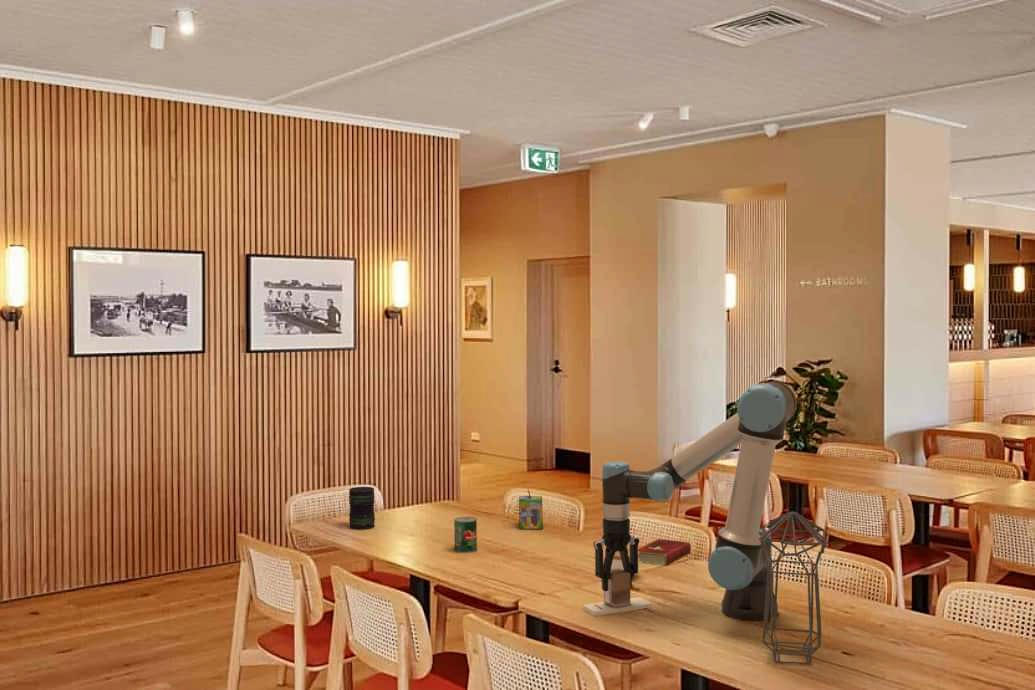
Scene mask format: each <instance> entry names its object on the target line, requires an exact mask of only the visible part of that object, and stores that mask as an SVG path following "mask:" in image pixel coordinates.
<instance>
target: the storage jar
mask: <svg viewBox="0 0 1035 690" xmlns="http://www.w3.org/2000/svg"><path fill="white" fill-rule="evenodd" d="M348 492H349V493H348V499H349V500H348V503H349V514H348V516H349V518H348V520H349V529H351V530H355V531H363V530H365V531H366V530H371V529H374V528H375V525H376V524H375V521H376V517H375V514H376V513H375V488H374V487H373V486H355V487H351V488H349V489H348Z"/></svg>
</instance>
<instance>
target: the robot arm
mask: <svg viewBox="0 0 1035 690" xmlns="http://www.w3.org/2000/svg"><path fill="white" fill-rule="evenodd" d="M736 409H737V410H736V411H737V412H736V413H735V414H734V415H732V416H730V417H729V418H728V419H726V420H725V421H723V422H722V423H720V424H718V425H717V426H716V427H715V428H713V429H712V430H710V431H709V432H707V433H706V434H705V435H703V436H701V437H700V438H699V439H697V440H696V441H695V442H693V443H692V444H690V445H689V446H687V447H686V448H685V449H683V450H682V451H680V452H678V453H677V454H676V455H674V456H673V457H672V458H670V459H668V460H667V461H665V462H664V463H663V464H661V465H660V466H658V467H655V468H653V469H650V470H647V471H646V470H645V471H643V470H641V471H640V470H633V469H631V467H630V464H629V462H626V461H617V460H616V461H607V462H605V463H604V464H603V465H602V473H601V474H602V476H601V483H602V484H601V485H602V487H601V488H602V490H601V491H602V517H603V519H602V532H603V536H602V537H601V539H600V540H599V541H593V542H592V543H593V547H594V551H595V552H594V553H595V556H594V557H595V558H594V561H595V563H594V565H595V567H594V568H595V569H594V575H595V577H596V578H599V579H601V589H602V592H603V595H604V594H605V602H607V603H609V604H610V603H612V583H611V579H609V575H610V571H611V566H612V561H613V557H614V555H615V552H617V551H619V553H620V556H621V560H622V564H623V568H624V571H626V572H628V573H630V589H631V588H632V586H633V578H634V577H635V575H636V574H638V573H639V568H638V548H639V543H640V539H639V538H638V537H635V536H631V534H630V530H631V520H630V516H631V509H630V508H631V506H630V505H631V503H630V500H631V499H640V500H641V499H642V500H651V501H668V500H670V498H671V497H672V495H673V491H675V490H677V489H678V488H680V486H681V485H682V484H684V483H685V482H687V481H688V480H690V479H691V478H692V477H694V476H695V475H698V474H699V473H700V472H701V471H702V470H705V469H706V468H708V467H709V466H710V465H712V464H713V463H715V462H716V461H718V460H719V459H721V458H722V457H724V456H725V455H727V454H729V453H730V452H731V451H733V450H734V449H736V448H737V447H739V446H740V448H739V452H738V453H739V454H738V458H737V464H736V468H735V475H734V479H733V484H732V489H731V494H730V495H731V496H730V499H729V506H728V510H727V517H726V521H725V526H723V527H722V528H720V529H719V530H718V532H717V537H716V541H715V542H716V543H715V548H714V550H713V551H712V552H711V554H710V556H709V557H708V560H707V561H708V562H707V569H708V573H709V575H710V577H711V579H712V580H713V581H714V582H715V583H716V584H717V585H718V586H719V587H720V588H723V589H725V591H724V594H723V595H724V596H723V598H722V601H721V612H722V613H723V614H724V615H726V616H728V617H730V618H731V617H732V618H734V619H741V620H748V621H749V620H750V621H762V620H763V621H764V611H765V598H766V585H767V572H768V571H767V567H766V562H765V558H764V553H763V549H762V547H761V542H760V540H759V538H760V536H762V535H761V534H762V533H763V531H762V528H760V527H761V523H762V517H763V512H764V508H765V507H764V506H765V501H766V497H767V493H768V492H767V490H768V486H769V481H770V476H771V470H772V465H773V459H774V455H775V450H776V446H777V445H778V444H780V443H781V442H782V441H784V438H785V437H784V436H785V432H786V431H785V430H786V425H787V422H789V421H790V420H791V419H792V418H793V417H794V415H795V412H796V411H797V397H796V394H795V392H794V391H793V390H792V388H791V387H790V386H788V385H787V384H786V383H783V382H780V381H775V380H772V381H766V382H764V383H762V382H761V383H757V384H754V385H752V386H750V387H749V388H747V389H746V390H745V391H744V392H743V393H742V394H741V396H740V397H739V400H738V402H737V407H736ZM765 530H766V529H765ZM766 531H767V530H766ZM770 534H771V532H770V533H769V534H767V535H766V538H767V537H768V536H769V535H770ZM768 539H772V535H771V536H770V537H769V538H768ZM770 542H771V543H773V541H770ZM766 544H767V548H768V551H769V553H770V556H771V557H772V546H771V545H770V544H769V543H768V542H766ZM628 545H629V548H628ZM604 546H605V547H604ZM604 548H605V551H604ZM628 549H630V561H629V557H628ZM604 552H605V553H606V554H605V555H604ZM765 553H766V557H767V562H768V563H769V561H771V559H770V556H769V554H768V552H767V549H766V547H765ZM769 569H770V566H769ZM774 602H775V591H773V618H774ZM778 614H779V604H778V603H777V606H776V617H777V616H778ZM768 620H771V588H770V602H769V615H768Z"/></svg>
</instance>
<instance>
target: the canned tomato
mask: <svg viewBox="0 0 1035 690" xmlns="http://www.w3.org/2000/svg"><path fill="white" fill-rule="evenodd" d="M453 520H454V521H453V522H454V523H453V525H454V526H453V527H454V534H453V535H454V552H456V553H460V554H470V553H471V554H472V553H475V552H477V551H478V533H477V531H478V528H477V527H478V526H477V524H478V523H477V521H478V520H477V518H476V517H474V516H459V517H456V518H454V519H453Z"/></svg>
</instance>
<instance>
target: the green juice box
mask: <svg viewBox="0 0 1035 690" xmlns="http://www.w3.org/2000/svg"><path fill="white" fill-rule="evenodd" d="M529 490H530V489H529V488H527V494H528V495H522V496H521V495H519V496H518V498H519V499H518V517H519V518H518V519H519V520H518V523H519V525H518V527H519V531H520V530H521V531H522V530H543V529H544V521H543V520H544V519H543V517H544V516H543V497H542V495H531V494H530V491H529Z"/></svg>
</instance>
